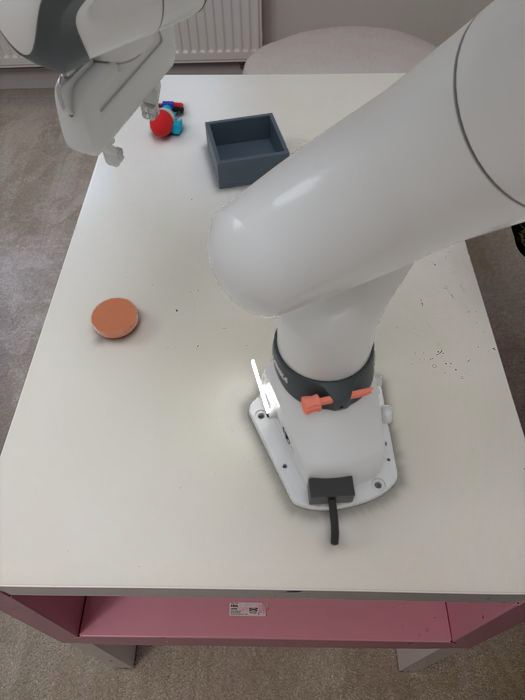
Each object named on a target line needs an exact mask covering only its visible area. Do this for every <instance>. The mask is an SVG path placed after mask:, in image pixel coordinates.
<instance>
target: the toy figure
mask: <svg viewBox="0 0 525 700" xmlns="http://www.w3.org/2000/svg"><path fill="white" fill-rule="evenodd" d="M158 105H159V112H160V113H159V115H158V116H157V117H156V118H155V120H154V121H151V120H150V119H149V128H150V131H151V132H152V134H153V135H155V136H156V137H159V138H164V137H166V136H168V135H169V134H170V133H172V134H173V135H179V134H180V133H181V132H182V130H183V128H184V127H183V126H184V125H183V119H182V118H180V119H179V120H178V118H176V117H177V116H178V114H179V113H181V114H183V113H184V111H185V108H184V103H183V102H180V101H179V102H177V101H173V100H162V102H161V103H159V102H158Z"/></svg>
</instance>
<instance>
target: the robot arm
mask: <svg viewBox="0 0 525 700" xmlns="http://www.w3.org/2000/svg"><path fill="white" fill-rule="evenodd" d="M207 1H208V0H0V34H1V35H2V36H3V37H4V39H5V41H6V42H7V43H8V45H9V46H10V47H11V48H12V49H13V50H14V51H15V52H16V53H17V54H18V55H19V56H21V57H22V58H24V59H25V60H27V61H29V62H31V63H33V64H35V65H37V66H39V67H41V68H45V69H47V70H49V71H52V72H55V73H59V76H58V79H57V81H56V83H55V86H54V100H55V107H56V111H57V117H58V120H59V121H58V122H59V124H60V129H61V133H62V136H63V140H64V142H65V144H66V146H67V147H68V148H70V149H71V150H73V151H76V152H78V153H82V154H85V155H89V156H92V157H99V156H100V155H101V154H102V155H103V158H104V161H105V163H106V164H107V165H108V166H111V167H115V168H118V167H120V165H121V164H122V162H123V161H124V159H125V155H124V150H123V148H122V147H120V146H115V145H114V144H115V141H116V140H115V137H116V136H117V135H118V133H119V132H120V131H121V130H122V128H123V127H124V126H125V125H126V124H127V122H128V121H129V120H130V119H131V117H132V116H133V115H134V114H135V112H136V111H137V110H138V109H139V107H140V111H141V116H142V118H143V119H145V120H146V121H147V120H149V121H150V120H151V121H154V120H155V118H156V117H157V116H158V115H159V113H160V112H159V105H158V103H159V101H160V96H161V89H162V82H161V81H162V80H163V78H164V77H165V76H166V74H168V72H169V71H170V70H171V69H172V68H173V66H174V63H175V59H176V54H177V45H176V31H175V25H176V24H178V23H180V22H183V21H185V20H187V19H189V18H191V17H192V16H194V15H195V14H199V13H200V12H202V11H203V9H204V7H205V6H206V3H207ZM209 222H210V223H209V226H208V231H207V238H206V249H207V250H206V251H207V259H208V262H209V263H208V264H209V266H210V267H209V268H210V270H211V273H212V275H213V277H214V280H215V281H216V283H217V285H218V287H219V288H220V290H222V292H223V293H224V294H225V295H226V296H227V297H228V299H229V300H231V301H232V302H233V304H235V305H237V306H238V307H239V308H240V309H242V310H244V311H246V312H247V313H250V314H252V315H255V316H258V317H261V318H264V319H273V318H276V317H277V320H276V321H277V324H276V325H277V326H276V329H275V332H274V335H273V339H272V344H271V345H272V346H271V352H272V353H271V354H272V359H271V361H269V364H268V365H267V366H266V367H265V369H264V370H263V372H262V374H261V378H260V376H259V372H258V368H257V365H256V362H255V359H251V366H252V370H253V373H254V375H255V379H256V383H257V386H258V389H259V395H258V396H257V397H256V398H255V399H254V400H253V401H252V402H251V403H250V406H249V408H248V414H249V415H248V416H249V417H250V419H251V421H252V423H253V426H254V428H255V430H256V431H257V434H258V436H259V438H260V440H261V442H262V444H263V446H264V449H265V451H266V452H267V454H268V456H269V458H270V460H271V462H272V465H273V467H274V469H275V471H276V472H277V475H278V477H279V479H280V481H281V483H282V486H283V488H284V490H285V492H286V493H287V495H288V497H289V499H290V501H291V503H292V504H293V505H294V506H297V507H299V508H302V509H305V510H310V511H320V512H321V511H328V512H329V520H330V521H329V522H330V544H331V545H332V546H338V545H339V540H340V526H339V515H338V510H342V509H347V508H352V507H355V506H359V505H363V504H365V503H369V502H371V501H373V500H376V499H378V498H379V497H381V496H383V495H384V494H386V493H387V492H388V491H389V490H390V489H391V488H392V487H393V486H394V485H395V484H396V482H397V481H398V476H399V475H398V468H397V463H396V458H395V452H394V448H393V442H392V437H391V431H390V426H389V424H391V423H393V421H394V412H393V411H394V410H393V408H392V405H390V404H386V403H385V399H384V393H383V389H382V386H383V382H384V381H383V376H382V375H381V374H377V375H376V370H375V366H376V350H375V339H376V337H377V332H378V329H379V326H380V324H381V320H382V317H383V315H384V313H385V311H386V309H387V308H388V305H389V304H390V303H391V301H392V299H393V298H394V295H395V294H396V293H397V291H398V290H399V288H400V286H401V285H402V283H403V282H404V280H405V278H406V277H407V276H408V274H409V272H410V270H411V269H412V267H413V266H414V264H415V262H417V261H420V260H422V259H424V258H426V257H429V256H431V255H433V254H436V253H437V252H439V251H442V250H444V249H446V248H449V247H451V246H454V245H456V244H459V243H461V242H464V241H467V240H472V239H475V238H477V237H480V236H483V235H487V234H490V233H494V232H496V231H499V230H503V229H506V228H510V227H512V226H515V225H519V224H522V223H525V0H493V1H491V3H489V4H487V6H485V7H484V8H483V9H482V10H481V11H479V12H478V13H477V14H475V16H473V17H472V18H471V19H470V20H469V21H468V22H467V23H465V24H464V25H463V26H461V28H459V29H458V30H457V31H456V32H454V33H453V34H452V35H450V37H448V38H447V39H446V40H445V41H443V42H442V43H441V44H439V45H438V46H437V47H436V48H434V50H432V51H431V52H430V53H429V54H428V55H427V56H425V57H424V58H423V59H421V60H420V61H419V62H418V63H417V64H416V65H414V66H413V67H412V68H411V69H410V70H409V71H407V72H406V73H405V74H404V75H403V76H402V77H400V78H398V80H396V81H395V82H394V83H393V84H391V85H390V86H388V87H387V88H386V89H385V90H383V91H382V92H381V93H379V94H377V95H376V96H375V97H373V98H372V99H371V100H369V101H367V102H366V103H364V104H363V105H361V106H359V107H358V108H357V109H355V110H354V111H352V112H351V113H349V114H348V115H346V116H345V117H343V118H342V119H340V120H339V121H337V122H335V123H334V124H333V125H331V126H330V127H329V128H327V129H326V130H324V131H322V133H319V134H318V135H317V136H315V137H314V138H313V139H311V140H310V141H308V142H307V143H305V144H304V145H303V146H302V147H300V148H298V149H297V150H295V151H294V152H293V153H291V154H290V155H289V157H287V158H286V159H285V160H283V161H282V162H281V163H279V164H278V165H277V166H275V167H274V168H273V169H271V170H270V171H269V172H267V173H266V174H265V175H263V176H262V177H261V178H259V179H258V180H257V181H255V182H254V183H253V184H249V186H247V187H245V189H243V190H242V191H241V192H239V193H238V194H237V195H235V196H234V197H233V198H232V199H231V200H229V201H228V202H227V203H226V204H224V206H222V207H221V208H220V209H218V210H217V211H216V212H215V213H214V214H213V216H212V218H211V219H210V221H209ZM260 417H263V418H260ZM376 485H379V487H376Z"/></svg>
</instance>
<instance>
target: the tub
mask: <svg viewBox="0 0 525 700" xmlns="http://www.w3.org/2000/svg"><path fill="white" fill-rule="evenodd" d="M204 127H205V128H204V129H205V134H206V135H205V136H206V137H205V138H206V145H207V150H208V153H209V157H210V161H211V164H212V168H213V171H214V174H215V178H216V181H217V185H218V189H220V190H222V189H229V188H235V187H241V186H248V185H252V184H253V183H254V182H255V181H257V180H258V179H259V178H261V177H262V176H263V175H265V174H266V173H267V172H269V171H270V170H271V169H273V168H274V167H275V166H277V165H278V164H279V163H281V162H282V161H283V160H285V159H286V158H287V157H289V156H290V155H291V154H290V151H289V148H288V146H287V144H286V141H285V139H284V137H283V134H282V132H281V130H280V128H279V127H280V126H279V125H278V123H277V120H276V117H275V116H274V114H273V112H268V113H267V112H266V113H261V114H260V113H259V114H254V115H246V116H238V117H232V118H225V119H217V120H211V121H205V122H204Z"/></svg>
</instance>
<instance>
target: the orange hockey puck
mask: <svg viewBox="0 0 525 700" xmlns="http://www.w3.org/2000/svg"><path fill="white" fill-rule="evenodd" d="M90 320H91V321H90V322H91V324H92V326H93V329H94V330H95V332H96V333H97V334H98V335H99V336H101V337H104V338H106V339H119V338H122V337H124V336H125V337H126V336H127V335H129V334H130V333H131V332H133V331H134V329H135V328H136V327H137V325H138V322H139V314H138V311H137V307H136V306H135V304H134V303H133V302H132V301H131V300H129V299H128V298H127V299H126V298H124V297H112V298H108V299H105V300H103V301H102V302H100V303H98V305H96V307H94V309H93V310H92V312H91V316H90Z"/></svg>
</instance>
